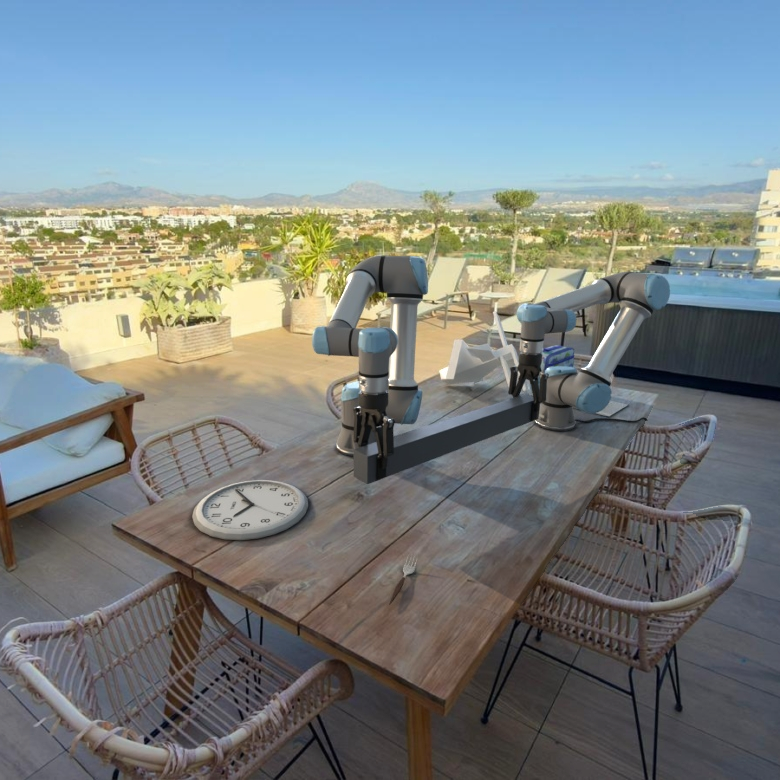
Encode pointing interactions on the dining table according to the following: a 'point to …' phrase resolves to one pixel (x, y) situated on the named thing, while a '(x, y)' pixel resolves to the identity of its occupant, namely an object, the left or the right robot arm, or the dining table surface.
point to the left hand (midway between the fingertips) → (372, 473)
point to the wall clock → (250, 510)
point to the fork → (407, 571)
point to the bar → (444, 437)
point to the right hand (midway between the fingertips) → (524, 417)
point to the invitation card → (611, 408)
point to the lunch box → (556, 358)
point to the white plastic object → (479, 361)
